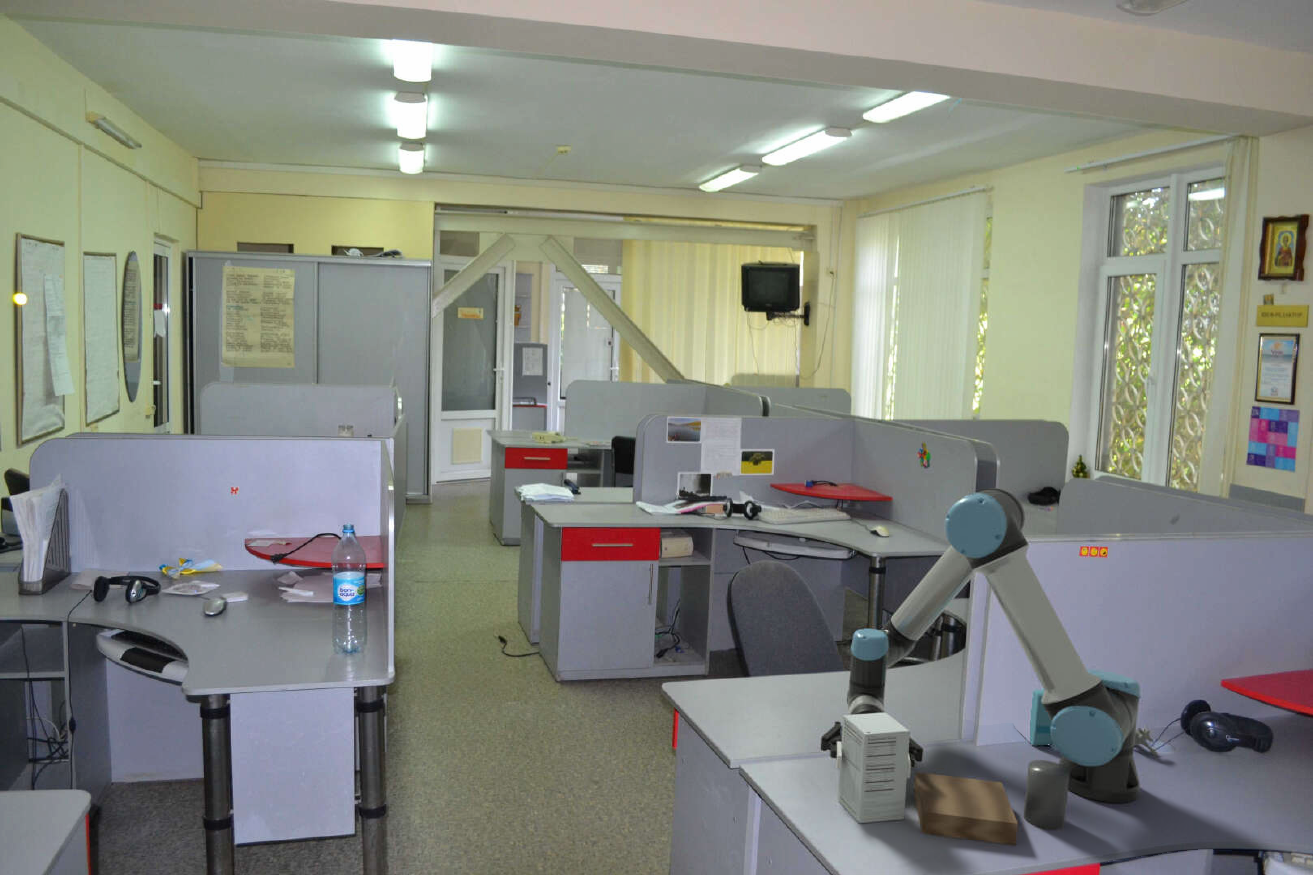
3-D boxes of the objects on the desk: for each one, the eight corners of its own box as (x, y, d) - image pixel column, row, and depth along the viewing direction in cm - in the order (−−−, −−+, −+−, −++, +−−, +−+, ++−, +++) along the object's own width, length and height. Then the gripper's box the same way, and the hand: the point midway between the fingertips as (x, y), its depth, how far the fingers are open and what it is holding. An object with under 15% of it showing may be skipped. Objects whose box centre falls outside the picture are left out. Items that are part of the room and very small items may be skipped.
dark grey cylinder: (1059, 813, 183) (1064, 762, 182) (1068, 831, 177) (1073, 779, 175) (1020, 808, 185) (1025, 758, 183) (1027, 826, 178) (1032, 774, 177)
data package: (1053, 748, 213) (1059, 695, 212) (1033, 747, 213) (1038, 694, 211) (1031, 726, 225) (1035, 675, 224) (1011, 725, 225) (1016, 675, 223)
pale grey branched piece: (1152, 743, 219) (1171, 745, 210) (1134, 762, 218) (1153, 766, 209) (1117, 710, 221) (1134, 711, 212) (1099, 729, 220) (1116, 731, 211)
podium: (999, 802, 187) (1001, 782, 186) (1015, 845, 171) (1017, 823, 170) (913, 791, 189) (915, 771, 189) (921, 832, 174) (923, 811, 173)
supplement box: (905, 820, 178) (912, 731, 176) (859, 824, 175) (865, 734, 173) (880, 795, 187) (886, 710, 185) (836, 799, 185) (842, 713, 183)
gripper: (926, 745, 198) (939, 794, 177) (807, 731, 202) (806, 778, 181) (929, 709, 198) (942, 754, 176) (809, 696, 201) (808, 739, 180)
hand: (873, 766), depth 179 cm, fingers closed on supplement box, 12 cm apart
